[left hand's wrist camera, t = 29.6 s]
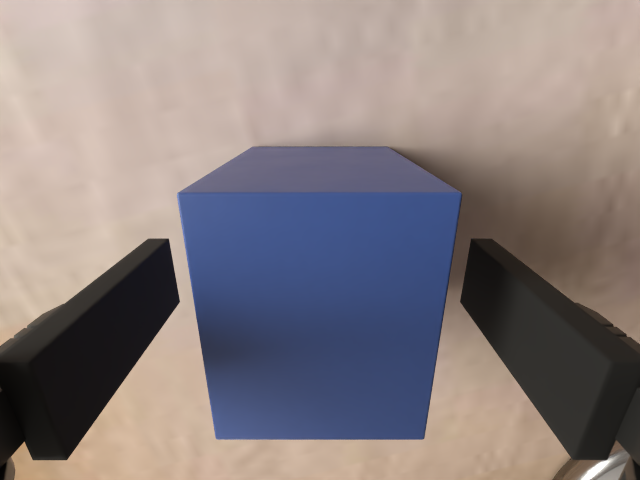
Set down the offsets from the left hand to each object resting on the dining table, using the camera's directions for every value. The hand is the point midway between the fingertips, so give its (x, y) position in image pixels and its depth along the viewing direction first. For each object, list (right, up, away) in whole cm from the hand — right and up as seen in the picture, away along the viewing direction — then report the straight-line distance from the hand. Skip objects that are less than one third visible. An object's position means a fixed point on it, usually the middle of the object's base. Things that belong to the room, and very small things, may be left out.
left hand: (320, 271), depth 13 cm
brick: (0, +2, +5) cm, 5 cm away
